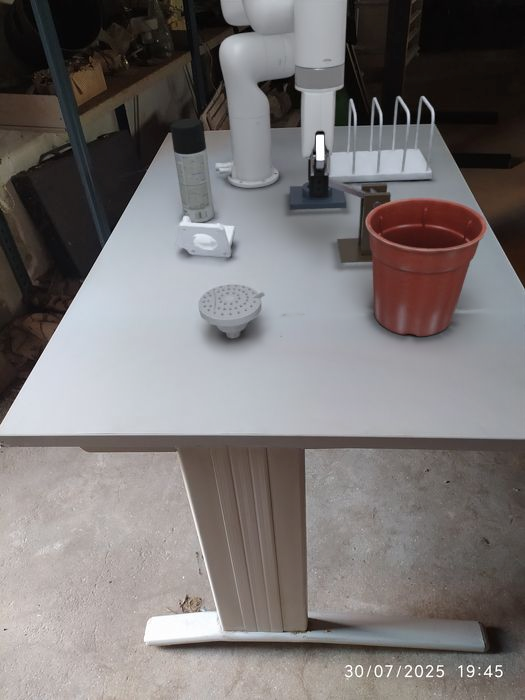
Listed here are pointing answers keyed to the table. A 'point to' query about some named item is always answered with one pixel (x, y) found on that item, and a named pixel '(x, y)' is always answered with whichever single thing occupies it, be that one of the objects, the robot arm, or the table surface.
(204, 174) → the spray can
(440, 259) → the flower pot
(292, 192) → the button box
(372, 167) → the file sorter
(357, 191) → the tap lever
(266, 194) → the table surface
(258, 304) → the showerhead
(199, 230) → the mounting bracket
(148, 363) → the table surface
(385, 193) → the brown lever stand
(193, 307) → the table surface
